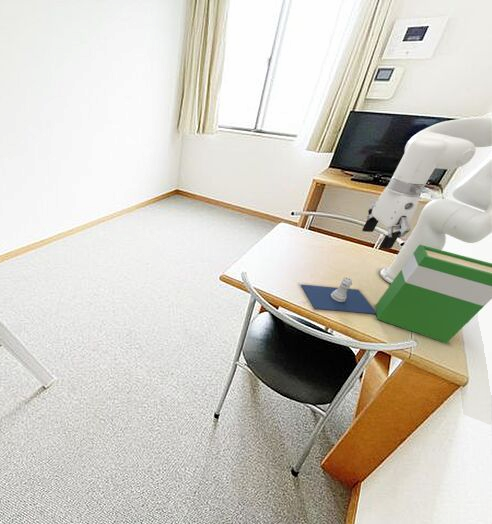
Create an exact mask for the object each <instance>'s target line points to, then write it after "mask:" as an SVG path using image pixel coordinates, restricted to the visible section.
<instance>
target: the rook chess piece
mask: <svg viewBox="0 0 492 524" xmlns="http://www.w3.org/2000/svg"><path fill="white" fill-rule="evenodd" d="M351 286H353V279H351V278H350V277H349V278H348V277H343V278H342V279H340V283H339V286H338V287H337V288H338V289H337V290H335V291H333V292H332V294H331V297H332V299H334V300H335V301H338V302H344V301H345V299H346V297H347V296H346V292H347V290H348V289H351V288H350V287H351Z"/></svg>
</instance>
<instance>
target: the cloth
mask: <svg viewBox="0 0 492 524" xmlns="http://www.w3.org/2000/svg"><path fill="white" fill-rule="evenodd" d="M300 286H301V288H302V289H303V291H304V293H305V295H306V297H307V298H308V300H309V302H310V304H311V305H312V307H313V309H314V310H323V311H335V312H347V313H357V314H358V313H359V314H367V315H369V314H370V315H377V313H376V309H375V308H374V307H373V306H372V305H371V304H370V302H369V301H368V300H367V298H366V297H365V296H364V295H363V293H362V292H361V291H360V290H359V289H357V288H356V289H355V288H348V290H347V292H346V296H347V297H346V299H345V301H344V302H338V301H335V300H334V299H332V297H331V294H332V292H333V291H335V290H337V289H338V288H339V287H334V286H333V287H331V286H322V285H321V286H320V285H311V284H310V285H309V284H301V285H300Z"/></svg>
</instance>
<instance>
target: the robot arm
mask: <svg viewBox="0 0 492 524" xmlns="http://www.w3.org/2000/svg"><path fill="white" fill-rule="evenodd" d="M487 147H492V111H490V112H488V113H485V114H483V115H478V116H470V117H464V118H458V119H451V120H444V121H441V122H437V123H435V124H433V125H430V126H428V127H425V128H423V129H422V130H420V131H418V132H416V134H414V135H413V136H411V137H410V139H409V140H408V141H407V142H406V144H405V146H404V154H403V155H402V158H401V159H400V161H399V163H398V165H397V166H396V169H395V171H394V172H393V175H392V176H391V178H390V181H389V182H388V184H387V185H386V187H385V188H384V189H383V191H382V192H381V194H380V196H378V199H377V200H376V201H372V202H370V203H369V209H368V212H367V213H368V215H367V216H366V221H365V224H364V225H363V226H362V229H361V232H366V233H373V232H374V231H375V229H376V228H377V225H378V223H381V224H382V225H383V226H384V227H386V229H387V235H384V237H383V239H382V240H381V242H380V244H379V248H380V249H392V248H393V246H394V245H395V244H396V241H397V240H398V239H400V238H401V237H405V235H406V234H408V233H409V232H410V231H411V225H410V223H411V220H412V218H413V216H414V214H415V212H416V210H417V207H418V205H419V202H420V198H421V196H420V194H421V193H422V192H423V189H424V188H425V186H426V184H427V183H428V181H429V179H430V177H432V174H433V172H434V171H435V169H440V170H455V169H458V168H459V169H460V168H461V167H463V166H465V165H466V164H468V163H469V162H470V161H471V160H472V159H473V157H474V156H475V154H476V148H487ZM452 197H453V198H454V200H451V199H446V198H436V199H433V200H431V201H429V202H427V203H426V204H425V205H424V206H423V208H422V210H421V212H420V213H419V216H418V219H417V222H416V224H415V226H414V228H413V230H412V231H411V232H410V235H409V236H408V238H407V239H406V241H405V242H404V244H403V245H402V247H401V249H400V250H399V252H398V253H397V254H396V256H395V258H394V260H393V261H392V263H390V264H389V267H383V268H382V269H381V270H380V272H379V274H380V277H381V278H382V279H383V280H384V281H386V282H387V283H389V285H391V283H392V282H393V280H394V279H395V278H396V276H397V275H398V274H399V272H400V271H401V269H402V268H403V267H404V265H405V264H406V263H407V261H408V260H409V258H410V257H411V256H412V254H413V253H414V252H415V250H416V249H417V247H418V246H419V245H423V246H427V247H431V248H435V249H439V250H442V251H443V248H444V247H445V244H446V242H447V241H446V240H447V235H448V236H450V237H452V238H453V239H456V240H459V241H461V242H464V243H468V244H474V243H475V244H476V243H478V242H480V241H482V240H484V239H485V238H486V237H488V236H489V235H490V234H492V149H490V152H489V155H488V156H487V158H486V159H485V160H484V161H483V162H482V163H480V165H479V166H477V167H476V168H475V169H474V170H473V171H471V172H470V173H469V174H468V175H467V176H466V177H464V178H463V180H461V181H460V182H459V183H458V184H457V185H456V186H455V187H454V189H453V191H452ZM455 200H456V201H455ZM394 230H395V231H394Z"/></svg>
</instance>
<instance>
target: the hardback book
mask: <svg viewBox="0 0 492 524" xmlns="http://www.w3.org/2000/svg"><path fill="white" fill-rule="evenodd" d="M490 301H492V262H488V261H484V260H481V259H478V258H477V259H476V258H473V257H469V256H465V255H461V254H458V253H455V252H450V251H446V250H443V249H442V250H439V249H435V248H431V247H427V246H423V245H419V246H418V247H417V249H416V250H415V252H414V253H413V254H412V256H411V257H410V258H409V260H408V261H407V263H406V264H405V265H404V267H403V268H402V269H401V271H400V272H399V274H398V275H397V276H396V278H395V279H394V280H393V282H392V283H391V284H389V286H388V287H387V288H386V289H385V291H384V293H383V294H382V295H381V296H380V298H379V300H378V301H377V303H376V304H375V305H374V307H375V311H376V313H377V314H376V318H377V320H379V321H380V322H381V321H382V322H385V323H387V324H391V325H393V326H395V327H399V328H402V329H404V330H406V331H410V332H413V333H416V334H419V335H421V336H425V337H427V338H431V339H433V340H436V341H438V342H441V343H445V344H448V343H449V342H450V340H452V338H454V336H456V335H457V333H459V332H460V331H461V329H463V327H465V326H466V325H467V324H468V323H469V322H470V321H471V320H472V319H473V318H474V317H475V316H476V315H477V314H478V313H479V312H480V311H481V310H482V309H483V308H484V307H485V306H486V305H487V304H488V303H489V302H490Z"/></svg>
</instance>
